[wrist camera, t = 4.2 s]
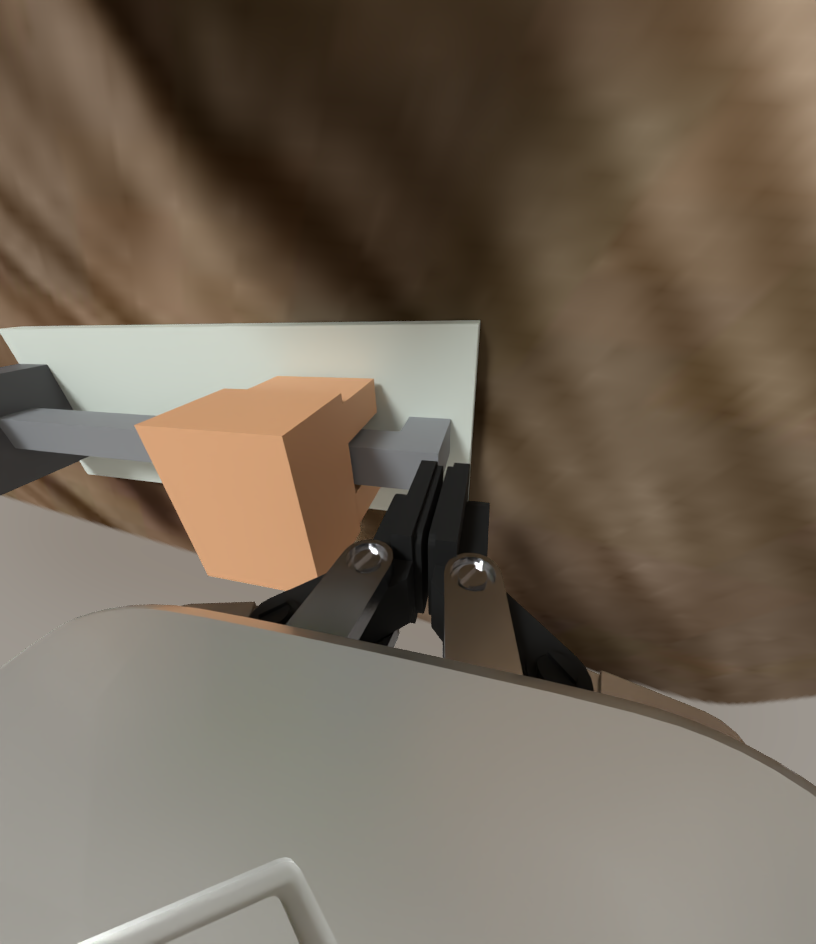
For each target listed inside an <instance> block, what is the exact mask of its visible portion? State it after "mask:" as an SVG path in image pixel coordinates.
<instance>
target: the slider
mask: <svg viewBox="0 0 816 944" xmlns="http://www.w3.org/2000/svg"><path fill="white" fill-rule="evenodd" d="M376 413H377V407H376V396H375V385H374V379H371V378H335V377H298V376H276V377H274V378H271V379H269V380H267V381H265V382H263V383H260V384H258V385H256V386H254V387H251V388H249V389H225V388H224V389H221V390H219V391H217V392H214V393H212V394H209V395H207V396H204V397H202V398H199V399H197V400H194V401H192V402H190V403H187V404H185V405H182V406H180V407H177V408H175V409H172V410H170V411H167V412H165V413H163V414H160V415H158V416H155V417H153V418H150V419H148V420H145V421H143V422H141V423H138V424H136V425H134V426H135V428H136V430H137V432H138V434H139V436H140V438H141V440H142V442H143V445H144V447H145V449H146V451H147V453H148V455H149V457H150V459H151V461H152V463H153V465H154V467H155V469H156V471H157V473H158V475H159V477H160V479H161V481H162V483H163V485H164V487H165V489H166V491H167V493H168V495H169V497H170V499H171V501H172V503H173V505H174V507H175V509H176V511H177V513H178V515H179V517H180V520H181V522H182V524H183V526H184V528H185V530H186V532H187V534H188V536H189V538H190V540H191V542H192V544H193V546H194V548H195V550H196V552H197V554H198V556H199V558H200V560H201V562H202V564H203V566H204V568H205V570H206V572H207V574H208V576H212V577H217V578H223V579H228V580H233V581H238V582H243V583H248V584H254V585H259V586H264V587H269V588H274V589H279V590H284V591H287V590H290V589H292V588H294V587H296V586H299V585H301V584H303V583H305V582H308V581H310V580H312V579H314V578H317V577H319V576H321V575H323V574H326V573H327V572H328V570H329V569H330V568H331V567H332V565H333V564H334V563H335V562H336V560H337V559H338V558H339V556H340V555H341V554H342V553H343V551H344V550H345V549H346V548H347V547H349V546H350V545H352V544H353V543H354V542H355V540H356V538H357V536H358V534H359V533H360V531H361V528H360V522H361V520H362V519H363V517H364V515H365V514H366V512H367V510H368V508H369V507H370V505H371V503H372V501H373V500H374V498H375V496H376V494H377V493H378V491H379V489H380V488H381V487H376V486H367V485H357V484H354V479H353V472H352V465H351V458H350V451H349V444H348V443H349V442H350V441H351V440H352V439H353V438H354V437H355V436H356V434H357V433H358V432H359V431H360V430H361V429H362V428H363V427H364V426H365V425H366V424H367V422H368V421H369V420H370V419H371V418H372V417H373V416H374V415H375V414H376Z"/></svg>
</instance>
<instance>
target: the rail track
mask: <svg viewBox="0 0 816 944" xmlns="http://www.w3.org/2000/svg"><path fill="white" fill-rule="evenodd" d="M0 333H1V335H2V337H3V338H4V340H5V341H6V343H7V345H8V346H9V348H10V350H11V351H12V353H13V354H14V356H15V358H16V359H17V361H18V362H19V364H16V365H10V366H5V367H0V495H2V494H5V493H7V492H9V491H12V490H14V489H16V488H18V487H21V486H23V485H25V484H28V483H30V482H32V481H34V480H37V479H39V478H41V477H43V476H46V475H48V474H50V473H53V472H55V471H57V470H59V469H62V468H64V467H66V466H69V465H71V464H73V463H75V462H78V461H80V462H81V464H82V466H83V467H84V469H85V471H86V472H87V474H92V475H101V476H109V477H117V478H125V479H133V480H141V481H150V482H158V483H162V481H161V479H160V477H159V475H158V473H157V471H156V469H155V467H154V465H153V463H152V461H151V459H150V457H149V455H148V453H147V451H146V449H145V447H144V445H143V442H142V440H141V438H140V436H139V434H138V432H137V430H136V428H135V426H134V425H136V424H138V423H141V422H143V421H145V420H148V419H150V418H153V417H155V416H158V415H160V414H163V413H165V412H167V411H170V410H172V409H175V408H177V407H180V406H182V405H185V404H187V403H190V402H192V401H194V400H197V399H199V398H202V397H204V396H207V395H209V394H212V393H214V392H217V391H219V390H221V389H224V388H225V389H249V388H251V387H254V386H256V385H258V384H260V383H263V382H265V381H267V380H269V379H271V378H274V377H276V376H298V377H335V378H371V379H374V385H375V396H376V407H377V413H376V414H375V415H374V416H373V417H372V418H371V419H370V420H369V421H368V422H367V424H366V425H365V426H364V427H363V428H362V429H361V430H360V431H359V432H358V433H357V434H356V436H355V437H354V438H353V439H352V440H351V441H350V442H349V443H348V444H349V451H350V458H351V465H352V472H353V479H354V484H357V485H367V486H376V487H381V488H380V489H379V491H378V493H377V494H376V496H375V498H374V500H373V501H372V503H371V505H370V507H369V508H370V509H378V510H386V511H387V510H388V507H389V505H390V503H391V501H392V499H393V497H394V495H395V494H406V495H407V493H408V491H409V489H410V486H411V484H412V482H413V479H414V477H415V475H416V472H417V470H418V467H419V465H420V463H421V461H422V460H427V461H437V462H438V465H440V466H443V481H444V478H445V474H446V470H447V467H448V466H452V467H453V465H454V463H466V464H470V468H471V453H472V438H473V423H474V409H475V394H476V379H477V364H478V349H479V334H480V320H454V321H382V322H310V323H238V324H167V325H95V326H23V327H13V328H4V329H0ZM469 483H470V476H469ZM468 498H469V492H468Z"/></svg>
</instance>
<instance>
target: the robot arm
mask: <svg viewBox="0 0 816 944" xmlns="http://www.w3.org/2000/svg"><path fill="white" fill-rule="evenodd" d="M469 476H470V464H466V463H454V465H453V467H452V466H448V467H447V470H446V474H445V478H444V481H443V466H440V465H438V462H437V461H427V460H422V461H421V463H420V465H419V467H418V470H417V472H416V475H415V477H414V479H413V482H412V484H411V486H410V489H409V491H408V493H407V495H406V494H395V495H394V497H393V499H392V501H391V503H390V505H389V507H388V510H387V512H386V514H385V516H384V518H383V520H382V522H381V524H380V526H379V528H378V530H377V532H376V534H375V537H374V539H367V540H361V541H358V542H355V543H353V544H352V545H350V546H349V547H347V548H346V549H345V550H344V551H343V553H342V554H341V555H340V556H339V558H338V559H337V560H336V562H335V563H334V564H333V565H332V567H331V568H330V569H329V570H328V572H327V573H326V574H323V575H321V576H319V577H317V578H314V579H312V580H310V581H308V582H305V583H303V584H301V585H299V586H296V587H294V588H292V589H290V590H287V591H285V592H283V593H281V594H278V595H276V596H274V597H272V598H270V599H268V600H266V601H264V602H263V603H261V604H260V605H259V606H256V604H255V602H233V603H206V604H204V603H203V604H188V605H183V606H177V605H157V604H149V605H130V606H123V607H117V608H110V609H105V610H101V611H97V612H93V613H90V614H87V615H84V616H80V617H77V618H75V619H73V620H71V621H69V622H67V623H64V624H63V625H61V626H59V627H57V628H56V629H54V630H53V631H51V632H49V633H48V634H47V635H45V636H44V637H42V638H41V639H39V640H38V641H36V642H35V643H33V644H32V645H30V646H29V647H28V648H26V649H25V650H23V651H22V652H21V653H19V654H18V655H17V656H15V657H14V658H13V659H11V660H10V661H9V662H7V663H6V664H5V665H3V666H2V667H0V944H816V786H814V785H813V784H812V783H810V782H809V781H807V780H806V779H804V778H803V777H801V776H800V775H798V774H797V773H795V772H793V771H792V770H790V769H789V768H787V767H785V766H784V765H782V764H781V763H779V762H777V761H775V760H773V759H772V758H770V757H768V756H766V755H764V754H762V753H761V752H759V751H757V750H755V749H753V748H751V747H750V746H748V745H746V744H745V743H744V742H743V741H742V739H741V738H740V737H739V736H738V734H737V733H736V732H734V731H733V730H732V729H731V728H730V727H729V726H727V725H726V724H725V723H724V722H722V721H721V720H719V719H717V718H716V717H714V716H712V715H710V714H709V713H706V712H705V711H702V710H700V709H697V708H695V707H692V706H690V705H687V704H685V703H682V702H680V701H677V700H675V699H672V698H670V697H667V696H665V695H662V694H660V693H657V692H655V691H652V690H650V689H647V688H645V687H642V686H640V685H637V684H635V683H632V682H630V681H627V680H625V679H622V678H620V677H617V676H615V675H612V674H610V673H607V672H605V671H601V673H600V675H599V674H597V673H594V672H592V671H589V670H587V669H586V667H585V666H584V665H583V664H582V662H581V661H580V660H579V659H578V658H577V657H576V656H575V655H574V654H573V653H572V652H571V651H570V650H569V649H567V648H566V647H565V646H564V645H563V644H562V643H561V642H560V641H559V640H558V639H557V638H555V637H554V636H553V635H552V634H551V633H550V632H549V631H548V630H547V629H546V628H545V627H543V626H542V625H541V624H540V623H539V622H538V621H537V620H536V619H535V618H534V617H533V616H532V615H530V614H529V613H528V612H527V611H526V610H525V609H524V608H523V607H522V606H521V605H520V604H518V603H517V602H516V601H515V600H514V599H513V598H512V597H511V596H510V595H509V594H508V593H506V591H505V586H504V581H503V576H502V573H501V570H500V568H499V566H498V565H497V564H496V563H495V562H494V561H493V560H491V559H490V558H488V557H487V549H488V526H489V503H485V502H475V501H468V492H469ZM427 598H428V602H429V615H431V626H432V628H433V630H434V631H435V632H436V634H437V635H438V636H439V638H440V639H441V640H442V641H443V658H440V657H436V656H431V655H426V654H421V653H417V652H412V651H407V650H402V649H398V648H394V646H395V643H396V641H397V639H398V636H399V629H400V628H401V627H403V626H405V625H407V624H408V623H415V622H416V618H417V614H418V613H424V611H425V607H426V602H427Z"/></svg>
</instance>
